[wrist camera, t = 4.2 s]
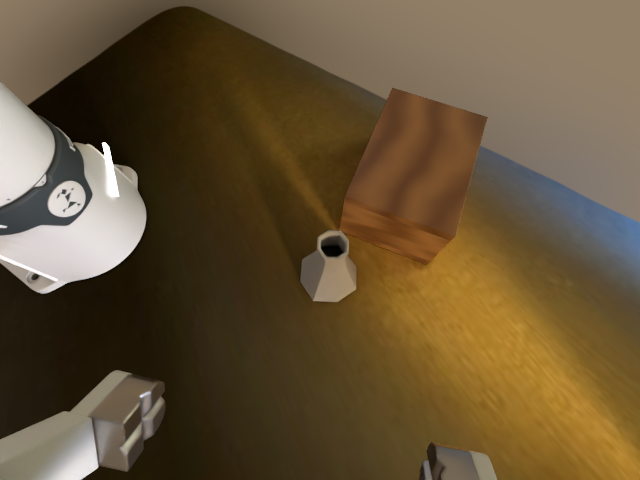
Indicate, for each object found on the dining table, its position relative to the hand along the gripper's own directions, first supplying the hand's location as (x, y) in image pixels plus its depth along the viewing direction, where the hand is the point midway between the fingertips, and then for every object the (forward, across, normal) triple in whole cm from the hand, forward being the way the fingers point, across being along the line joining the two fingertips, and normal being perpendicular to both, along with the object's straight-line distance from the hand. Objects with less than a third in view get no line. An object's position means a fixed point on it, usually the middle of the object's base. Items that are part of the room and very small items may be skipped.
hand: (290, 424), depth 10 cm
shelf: (+38, -7, 0) cm, 39 cm away
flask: (+29, +1, +9) cm, 31 cm away
